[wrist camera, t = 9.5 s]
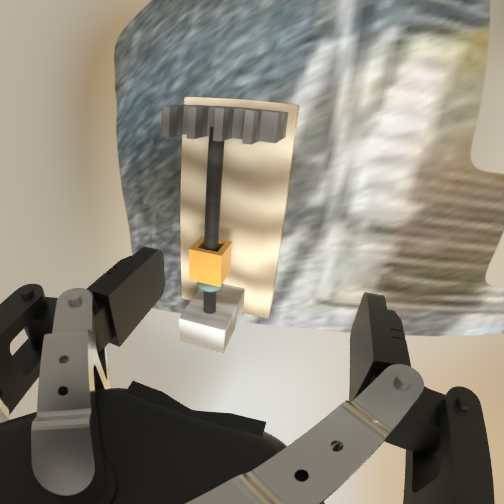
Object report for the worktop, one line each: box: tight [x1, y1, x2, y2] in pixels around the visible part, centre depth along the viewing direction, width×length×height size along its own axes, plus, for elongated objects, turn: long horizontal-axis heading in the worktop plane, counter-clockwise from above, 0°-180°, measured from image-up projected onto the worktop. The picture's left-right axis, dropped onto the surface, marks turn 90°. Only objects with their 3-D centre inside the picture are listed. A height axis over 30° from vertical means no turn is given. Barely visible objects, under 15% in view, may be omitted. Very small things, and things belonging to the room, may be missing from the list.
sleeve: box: [189, 236, 232, 287], centre depth 36 cm, size 4×4×4 cm
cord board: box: [161, 97, 299, 353], centre depth 36 cm, size 30×14×12 cm, turn 175°
